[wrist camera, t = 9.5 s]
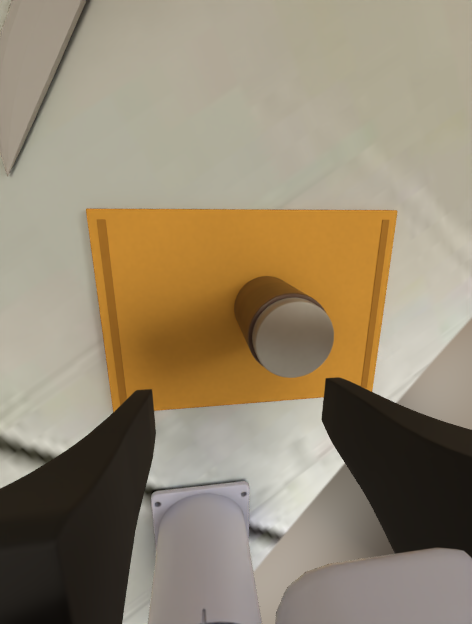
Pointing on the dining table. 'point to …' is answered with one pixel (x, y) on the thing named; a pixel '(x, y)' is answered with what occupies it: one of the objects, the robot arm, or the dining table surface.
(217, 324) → the orange cutting board
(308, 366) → the pepper shaker
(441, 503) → the robot arm
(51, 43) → the chef's knife
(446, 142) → the dining table surface
